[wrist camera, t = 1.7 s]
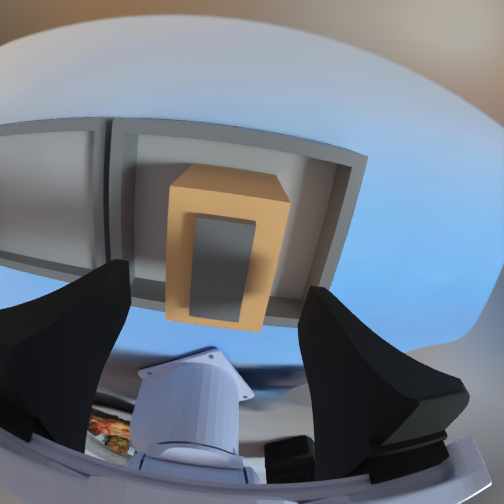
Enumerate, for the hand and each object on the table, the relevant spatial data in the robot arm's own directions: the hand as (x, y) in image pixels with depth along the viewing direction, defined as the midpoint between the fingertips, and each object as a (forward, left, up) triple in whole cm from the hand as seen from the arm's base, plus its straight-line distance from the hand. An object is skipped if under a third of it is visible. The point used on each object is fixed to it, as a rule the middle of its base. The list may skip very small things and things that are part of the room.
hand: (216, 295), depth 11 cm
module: (0, 0, -8) cm, 8 cm away
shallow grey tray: (-12, +8, -9) cm, 17 cm away
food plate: (-29, -24, -10) cm, 39 cm away
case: (0, 0, -9) cm, 9 cm away
